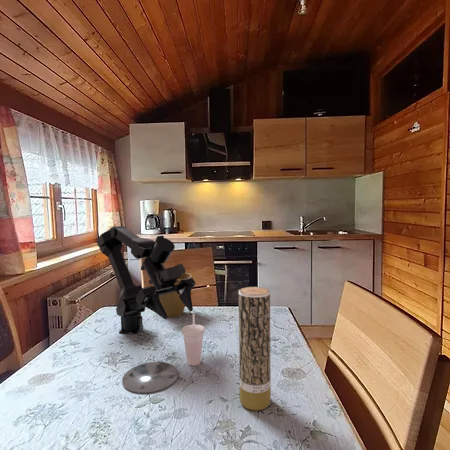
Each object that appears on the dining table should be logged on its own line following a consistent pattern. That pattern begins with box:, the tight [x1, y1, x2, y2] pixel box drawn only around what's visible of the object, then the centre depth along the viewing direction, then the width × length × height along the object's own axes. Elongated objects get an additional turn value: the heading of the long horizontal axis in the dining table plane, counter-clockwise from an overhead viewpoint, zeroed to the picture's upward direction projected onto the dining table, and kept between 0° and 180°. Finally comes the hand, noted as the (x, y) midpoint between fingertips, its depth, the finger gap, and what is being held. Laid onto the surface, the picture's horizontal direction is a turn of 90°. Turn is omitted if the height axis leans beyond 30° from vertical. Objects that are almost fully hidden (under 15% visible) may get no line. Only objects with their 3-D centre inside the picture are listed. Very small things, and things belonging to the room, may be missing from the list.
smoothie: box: [181, 313, 206, 366], centre depth 87 cm, size 6×6×14 cm
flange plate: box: [121, 361, 180, 394], centre depth 79 cm, size 14×14×1 cm
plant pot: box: [159, 272, 192, 318], centre depth 127 cm, size 15×15×16 cm
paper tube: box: [238, 286, 272, 411], centre depth 68 cm, size 7×7×25 cm
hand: (179, 314), depth 91 cm, fingers open, 9 cm apart
